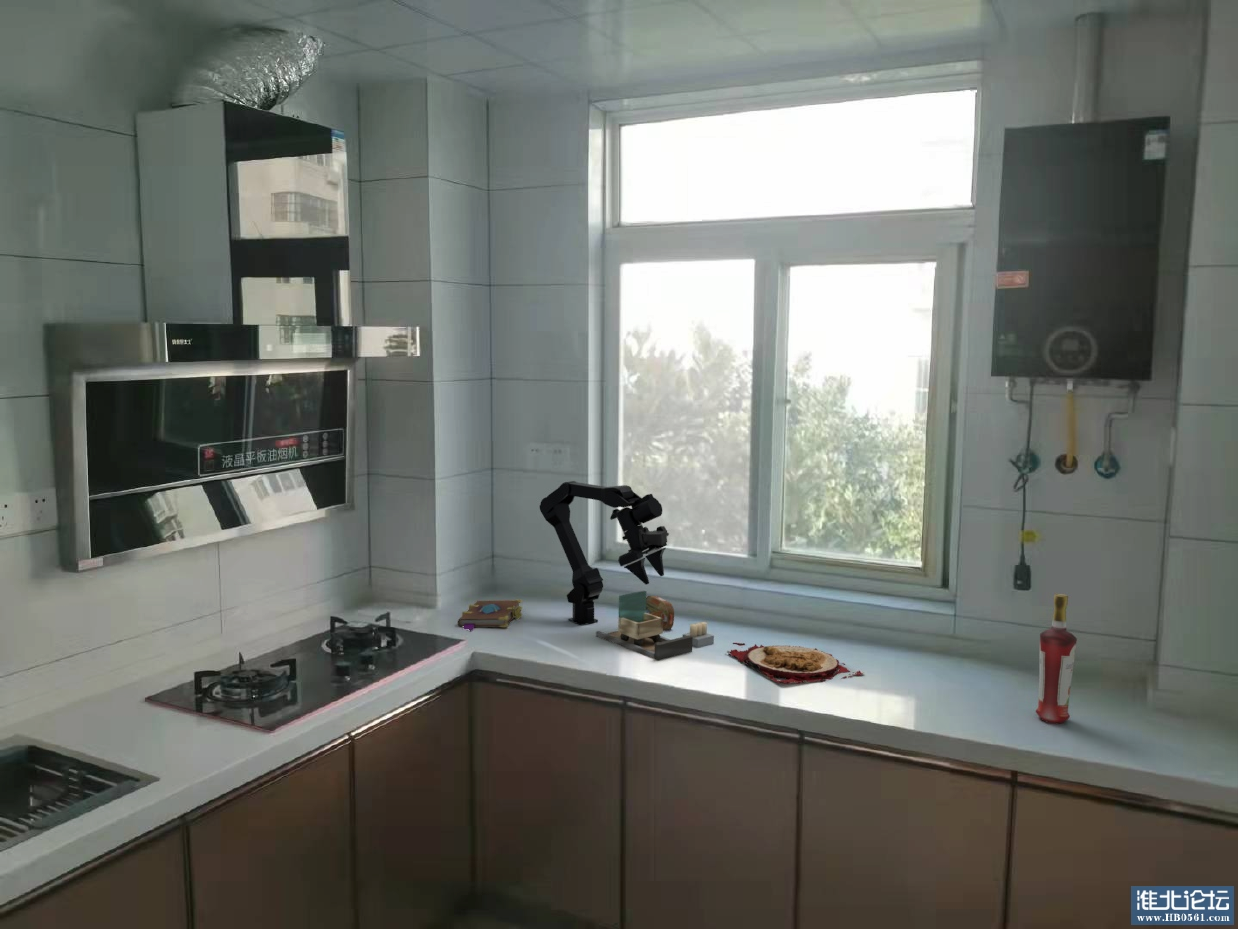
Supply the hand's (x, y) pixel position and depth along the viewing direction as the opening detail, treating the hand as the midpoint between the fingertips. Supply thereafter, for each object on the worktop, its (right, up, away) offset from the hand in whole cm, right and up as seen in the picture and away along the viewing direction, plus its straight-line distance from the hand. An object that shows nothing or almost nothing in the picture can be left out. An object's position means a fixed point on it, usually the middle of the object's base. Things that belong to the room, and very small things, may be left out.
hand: (655, 579), depth 264 cm
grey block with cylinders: (+11, -17, -7) cm, 21 cm away
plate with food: (+35, -20, -21) cm, 45 cm away
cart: (-4, -16, -7) cm, 18 cm away
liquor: (+85, -24, -55) cm, 105 cm away
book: (-48, -14, +15) cm, 52 cm away
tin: (+1, -15, +11) cm, 19 cm away
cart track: (-4, -17, -8) cm, 19 cm away
